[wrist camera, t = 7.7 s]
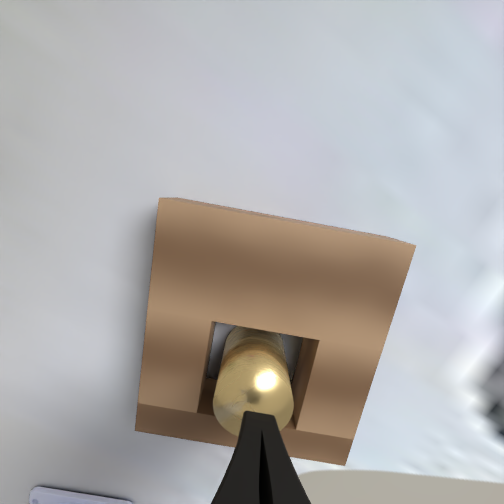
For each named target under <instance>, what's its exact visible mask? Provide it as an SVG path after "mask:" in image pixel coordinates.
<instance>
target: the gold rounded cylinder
mask: <svg viewBox="0 0 504 504" xmlns="http://www.w3.org/2000/svg"><path fill="white" fill-rule="evenodd" d="M293 409H294V401H293V395H292V390H291V384H290V379H289V373H288V368H287V362H286V357H285V351H284V346H283V341H282V338H281V336H280V334H279V333H277V332H271V331H265V330H260V329H254V328H248V327H243V326H236V327H235V328H234V329H233V330H232V331H231V332H230V333H229V335H228V337H227V339H226V343H225V348H224V352H223V357H222V361H221V366H220V371H219V375H218V380H217V384H216V389H215V393H214V398H213V410H214V414H215V416H216V418H217V420H218V422H219V423H220V424H221V426H222V427H223V428H224V429H226V430H227V431H228V432H230V433H232V434H233V435H236V436H238V437H239V432H240V427H241V422H242V417H243V413H244V412H245V411H252V412H258V413H264V414H270V415H274V416H275V418H276V421H277V424H278V428H279V431H281V430H282V429H283V428H284V427H285V426H286V425H287V424H288V422H289V421H290V419H291V417H292V414H293Z"/></svg>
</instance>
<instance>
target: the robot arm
mask: <svg viewBox="0 0 504 504" xmlns="http://www.w3.org/2000/svg"><path fill="white" fill-rule="evenodd" d="M29 504H132V503H131V502H130V501H126V500H120V499H113V498H107V497H101V496H95V495H89V494H82V493H76V492H70V491H64V490H58V489H51V488H45V487H34V488H33V490H32V491H31V492H30V494H29ZM211 504H311V502H310V501H309V499H308V497H307V495H306V493H305V490H304V488H303V486H302V484H301V482H300V480H299V478H298V476H297V473H296V471H295V469H294V467H293V464H292V462H291V459H290V457H289V455H288V452H287V450H286V447H285V444H284V442H283V439H282V436H281V433H280V431H279V428H278V424H277V421H276V418H275V416H274V415H270V414H264V413H258V412H252V411H245V412H244V413H243V417H242V422H241V427H240V432H239V437H238V441H237V444H236V447H235V450H234V453H233V456H232V458H231V461H230V463H229V466H228V468H227V470H226V473H225V475H224V477H223V480H222V482H221V484H220V486H219V488H218V490H217V492H216V494H215V496H214V499H213V501H212V503H211Z"/></svg>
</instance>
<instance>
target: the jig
mask: <svg viewBox="0 0 504 504" xmlns="http://www.w3.org/2000/svg"><path fill="white" fill-rule="evenodd" d="M415 248H416V245H413V244H410V243H406V242H403V241H400V240H396V239H393V238H390V237H387V236H381V235H376V234H370V233H365V232H360V231H354V230H349V229H343V228H338V227H333V226H327V225H322V224H317V223H311V222H306V221H300V220H295V219H290V218H284V217H279V216H273V215H268V214H263V213H257V212H252V211H247V210H241V209H236V208H230V207H225V206H220V205H214V204H209V203H203V202H198V201H193V200H187V199H182V198H159V202H158V212H157V221H156V231H155V241H154V250H153V260H152V270H151V279H150V289H149V299H148V308H147V318H146V328H145V337H144V347H143V357H142V366H141V376H140V386H139V395H138V405H137V415H136V424H135V431H139V432H145V433H151V434H157V435H163V436H169V437H175V438H181V439H187V440H193V441H199V442H205V443H211V444H217V445H223V446H229V447H236V444H237V441H238V436H236V435H233V434H232V433H230V432H228V431H227V430H226V429H224V428H223V427H222V426H221V424H220V423H219V422H218V420H217V418H216V416H215V414H214V410H213V398H214V393H215V389H216V384H217V380H215V379H209V378H206V377H207V371H208V365H209V359H210V353H211V346H212V340H213V334H214V328H215V322H220V323H226V324H231V325H237V326H243V327H248V328H254V329H260V330H265V331H271V332H277V333H282V334H288V335H294V336H299V337H303V341H302V345H301V349H300V353H299V357H298V361H297V365H296V369H295V373H294V377H293V381H292V385H291V390H292V395H293V401H294V409H293V414H292V417H291V419H290V421H289V422H288V424H287V425H286V426H285V427H284V428H283V429H282V430H281V431H280V433H281V436H282V439H283V442H284V444H285V447H286V450H287V452H288V455H289V457H295V458H301V459H307V460H313V461H319V462H325V463H331V464H337V465H343V466H345V464H346V461H347V458H348V455H349V452H350V449H351V445H352V442H353V439H354V436H355V433H356V430H357V427H358V424H359V421H360V418H361V415H362V412H363V408H364V405H365V402H366V399H367V396H368V393H369V390H370V387H371V384H372V381H373V378H374V374H375V371H376V368H377V365H378V362H379V359H380V356H381V353H382V350H383V347H384V344H385V341H386V337H387V334H388V331H389V328H390V325H391V322H392V319H393V316H394V313H395V310H396V307H397V303H398V300H399V297H400V294H401V291H402V288H403V285H404V282H405V279H406V276H407V273H408V270H409V266H410V263H411V260H412V257H413V254H414V251H415Z"/></svg>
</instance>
